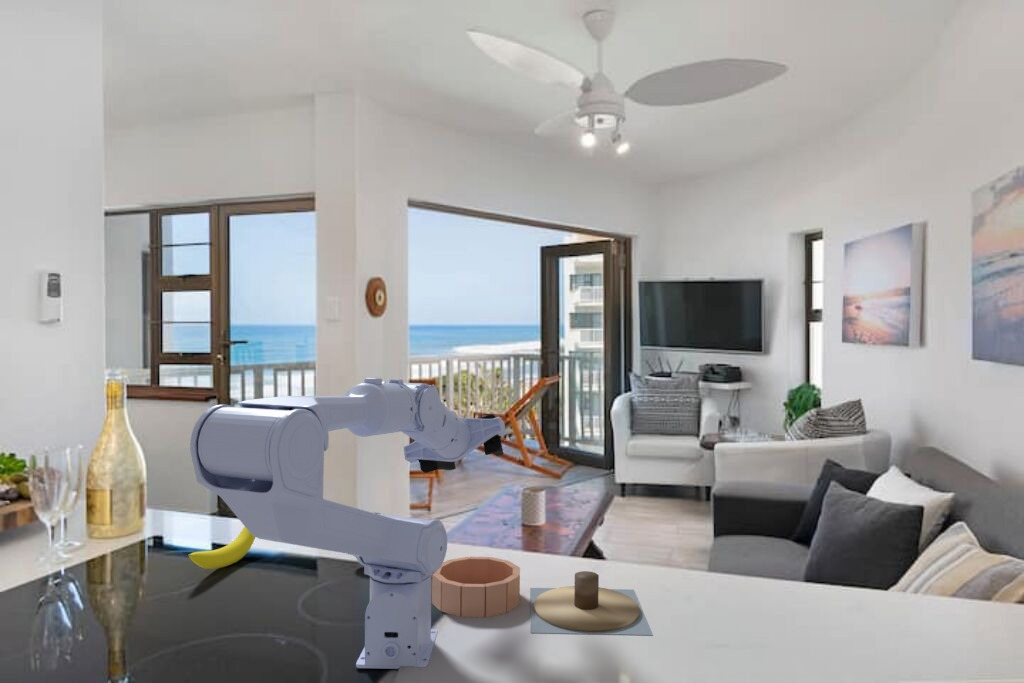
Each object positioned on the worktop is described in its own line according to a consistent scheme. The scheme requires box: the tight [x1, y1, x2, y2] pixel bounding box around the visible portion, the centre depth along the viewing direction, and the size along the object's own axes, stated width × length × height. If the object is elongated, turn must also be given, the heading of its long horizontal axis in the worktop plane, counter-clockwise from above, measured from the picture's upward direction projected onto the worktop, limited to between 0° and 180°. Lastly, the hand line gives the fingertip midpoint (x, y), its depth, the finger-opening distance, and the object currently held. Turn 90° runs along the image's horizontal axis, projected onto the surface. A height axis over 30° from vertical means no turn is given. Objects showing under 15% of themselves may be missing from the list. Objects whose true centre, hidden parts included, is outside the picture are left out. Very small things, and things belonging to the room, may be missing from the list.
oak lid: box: [534, 570, 639, 632], centre depth 91 cm, size 14×14×5 cm
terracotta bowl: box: [431, 556, 521, 618], centre depth 94 cm, size 12×12×4 cm
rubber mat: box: [529, 587, 653, 637], centre depth 91 cm, size 15×15×1 cm
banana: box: [188, 526, 256, 570], centre depth 108 cm, size 3×19×6 cm, turn 171°
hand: (476, 456), depth 101 cm, fingers open, 7 cm apart
